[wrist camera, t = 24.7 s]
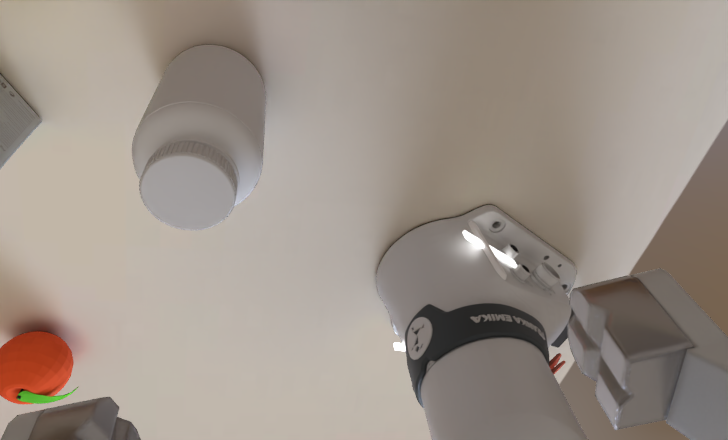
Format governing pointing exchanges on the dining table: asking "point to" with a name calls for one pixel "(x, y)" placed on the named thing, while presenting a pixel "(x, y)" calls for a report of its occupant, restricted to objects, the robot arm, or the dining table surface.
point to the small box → (14, 121)
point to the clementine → (34, 368)
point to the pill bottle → (201, 138)
